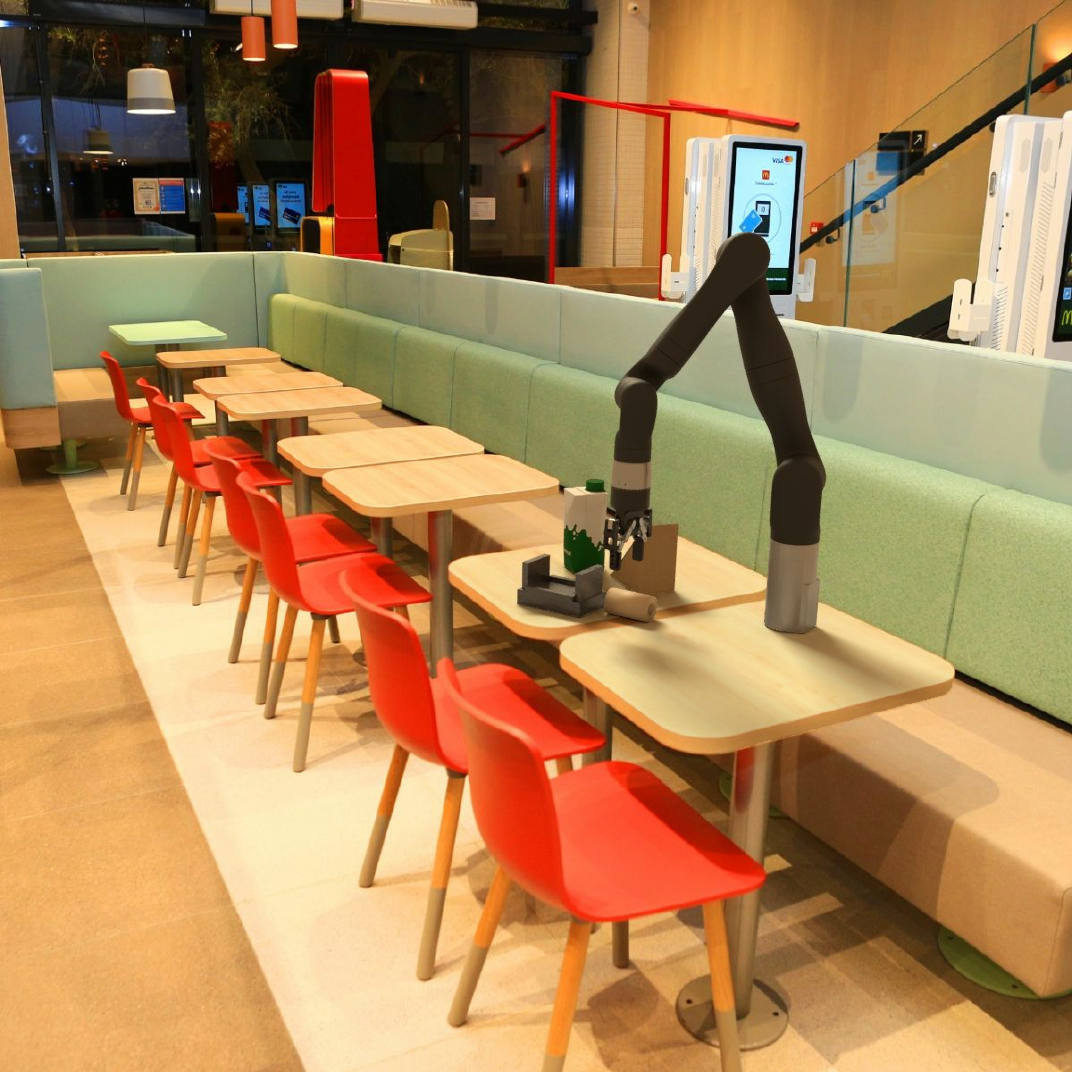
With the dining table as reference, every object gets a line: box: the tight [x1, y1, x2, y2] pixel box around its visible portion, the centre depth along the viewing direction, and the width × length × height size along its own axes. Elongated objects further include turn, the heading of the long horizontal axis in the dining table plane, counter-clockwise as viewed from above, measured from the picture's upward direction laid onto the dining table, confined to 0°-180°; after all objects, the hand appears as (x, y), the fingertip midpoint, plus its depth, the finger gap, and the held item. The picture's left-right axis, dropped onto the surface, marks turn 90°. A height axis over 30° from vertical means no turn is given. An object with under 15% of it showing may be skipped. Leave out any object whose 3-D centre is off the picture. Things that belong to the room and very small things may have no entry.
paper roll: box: [603, 587, 658, 623], centre depth 224 cm, size 9×5×5 cm
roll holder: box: [516, 553, 608, 619], centre depth 231 cm, size 15×10×8 cm, turn 55°
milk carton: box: [562, 478, 610, 575], centre depth 254 cm, size 9×9×20 cm
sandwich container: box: [609, 523, 679, 595], centre depth 245 cm, size 9×15×15 cm, turn 22°
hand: (626, 565), depth 221 cm, fingers open, 8 cm apart
